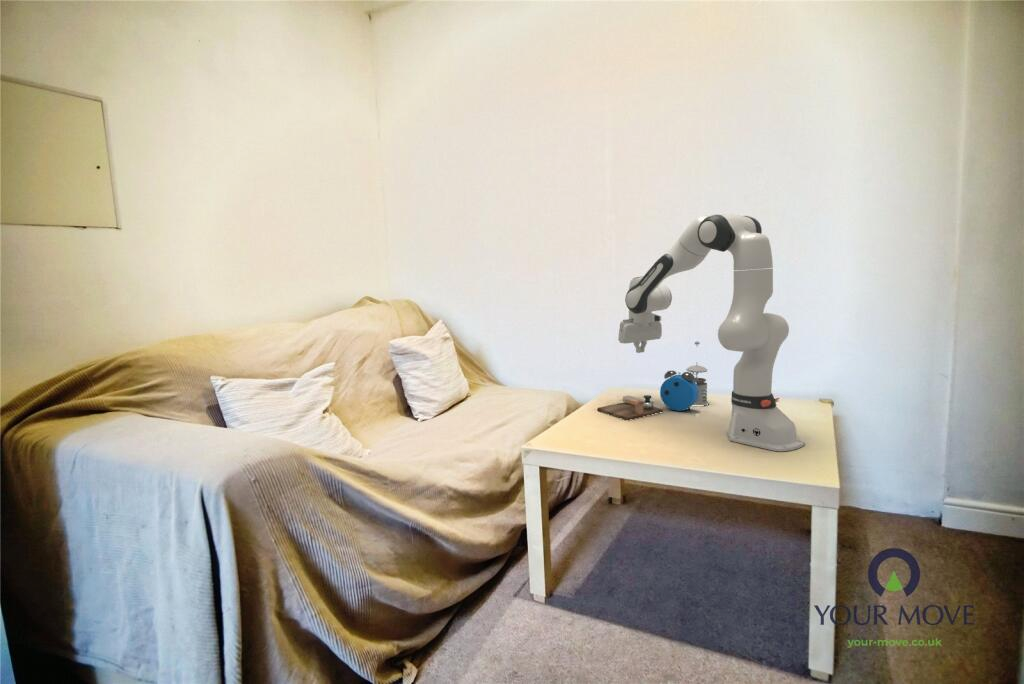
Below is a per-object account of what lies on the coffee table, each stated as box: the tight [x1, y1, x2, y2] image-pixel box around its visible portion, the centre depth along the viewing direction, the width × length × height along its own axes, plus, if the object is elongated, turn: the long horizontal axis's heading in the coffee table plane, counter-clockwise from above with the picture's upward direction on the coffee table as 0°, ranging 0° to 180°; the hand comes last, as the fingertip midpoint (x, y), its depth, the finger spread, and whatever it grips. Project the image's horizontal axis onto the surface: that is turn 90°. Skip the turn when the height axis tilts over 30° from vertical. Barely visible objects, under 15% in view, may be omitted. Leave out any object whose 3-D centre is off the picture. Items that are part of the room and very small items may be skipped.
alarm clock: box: [659, 370, 699, 412], centre depth 201 cm, size 13×6×15 cm, turn 52°
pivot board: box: [596, 401, 664, 421], centre depth 202 cm, size 17×18×1 cm
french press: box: [686, 340, 709, 406], centre depth 210 cm, size 10×12×25 cm
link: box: [622, 394, 655, 409], centre depth 205 cm, size 14×4×4 cm, turn 30°
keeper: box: [625, 398, 644, 414], centre depth 197 cm, size 7×3×4 cm, turn 31°
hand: (640, 352), depth 211 cm, fingers closed
